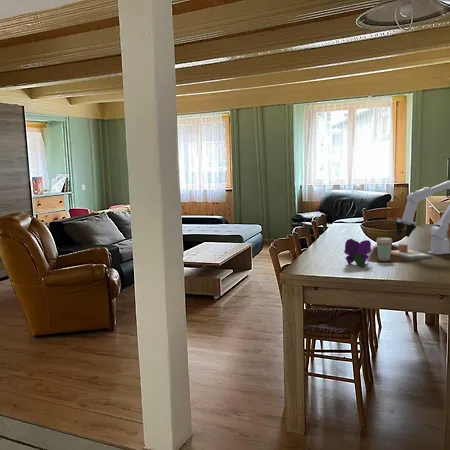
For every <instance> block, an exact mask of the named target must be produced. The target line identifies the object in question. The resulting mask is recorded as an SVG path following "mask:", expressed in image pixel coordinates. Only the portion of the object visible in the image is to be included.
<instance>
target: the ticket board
mask: <svg viewBox="0 0 450 450" xmlns="http://www.w3.org/2000/svg"><path fill="white" fill-rule="evenodd" d="M432 255H433V254H429V253H428V254H427V253H425V252H419V251H417V252H409V253H398V257H400V258H403V259H407V260H410V261H413V260H425V259H432Z"/></svg>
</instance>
